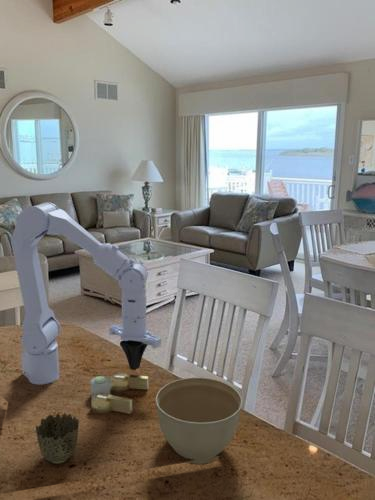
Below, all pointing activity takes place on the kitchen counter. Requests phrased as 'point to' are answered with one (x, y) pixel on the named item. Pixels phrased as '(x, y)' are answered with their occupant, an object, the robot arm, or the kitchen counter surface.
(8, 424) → the kitchen counter surface
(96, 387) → the plate
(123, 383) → the back knob
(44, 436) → the cup
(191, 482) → the kitchen counter surface
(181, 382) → the planter bowl
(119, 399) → the front knob
